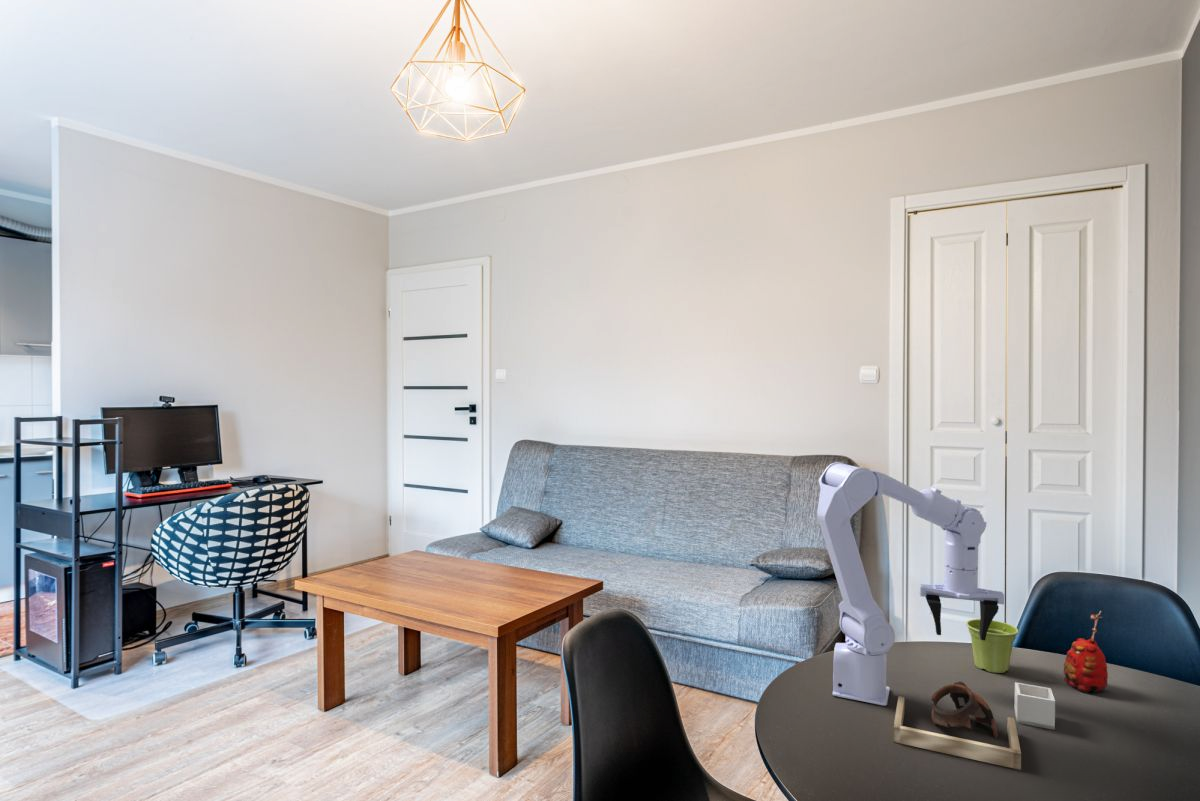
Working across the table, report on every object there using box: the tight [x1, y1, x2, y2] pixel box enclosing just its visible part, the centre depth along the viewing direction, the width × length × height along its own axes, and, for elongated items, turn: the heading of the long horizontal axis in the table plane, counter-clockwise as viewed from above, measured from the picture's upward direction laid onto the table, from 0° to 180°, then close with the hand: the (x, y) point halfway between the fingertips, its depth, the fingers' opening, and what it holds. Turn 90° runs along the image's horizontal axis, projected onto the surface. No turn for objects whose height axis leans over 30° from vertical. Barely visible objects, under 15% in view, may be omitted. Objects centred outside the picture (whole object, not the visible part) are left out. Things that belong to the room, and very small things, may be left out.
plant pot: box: [965, 618, 1019, 674], centre depth 142 cm, size 9×9×9 cm
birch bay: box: [892, 695, 1022, 771], centre depth 114 cm, size 18×12×2 cm
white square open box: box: [1013, 682, 1056, 731], centre depth 120 cm, size 6×6×5 cm
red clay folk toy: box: [1063, 610, 1109, 693], centre depth 133 cm, size 8×7×15 cm
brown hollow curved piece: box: [930, 681, 998, 738], centre depth 118 cm, size 12×10×8 cm
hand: (960, 635), depth 133 cm, fingers open, 7 cm apart
